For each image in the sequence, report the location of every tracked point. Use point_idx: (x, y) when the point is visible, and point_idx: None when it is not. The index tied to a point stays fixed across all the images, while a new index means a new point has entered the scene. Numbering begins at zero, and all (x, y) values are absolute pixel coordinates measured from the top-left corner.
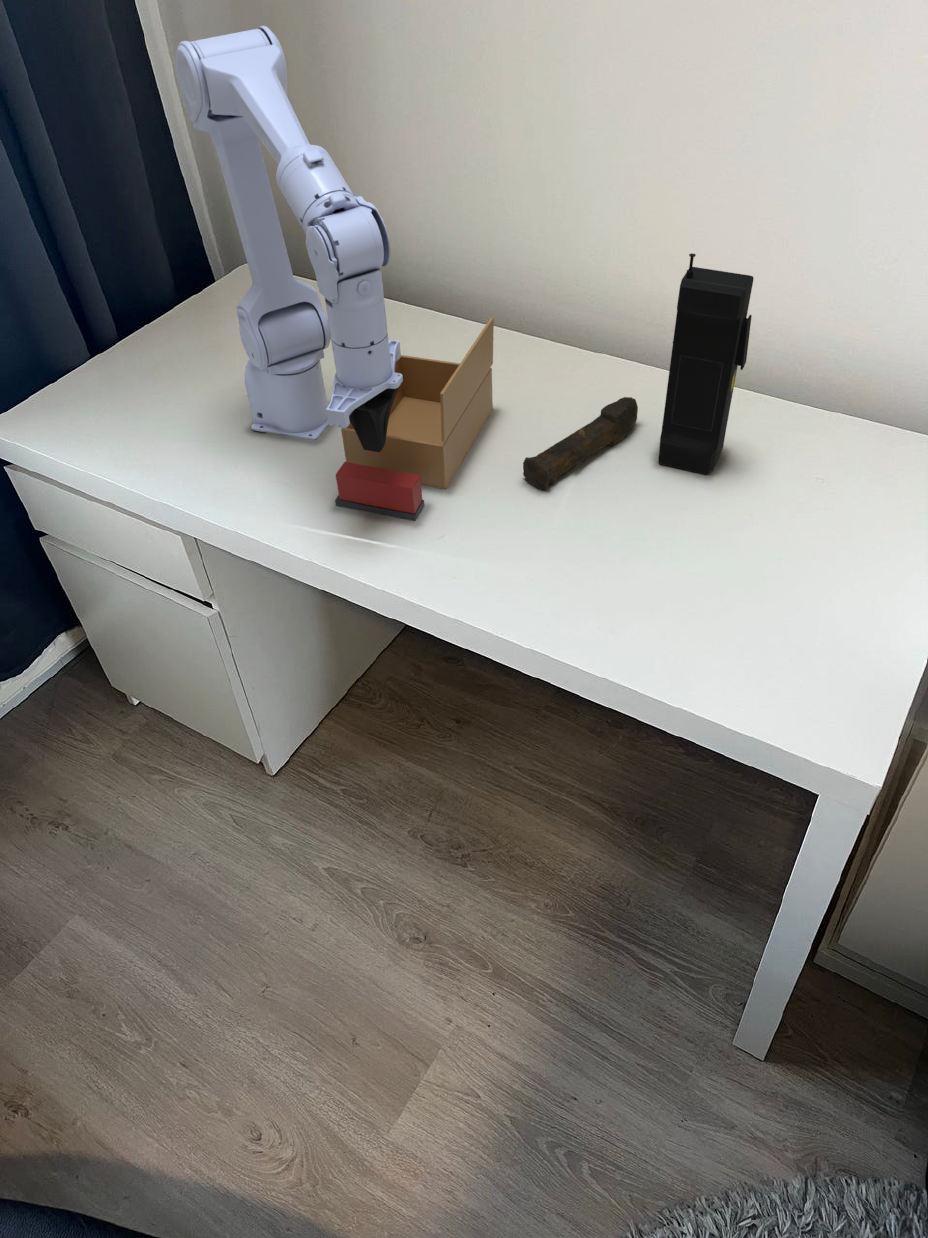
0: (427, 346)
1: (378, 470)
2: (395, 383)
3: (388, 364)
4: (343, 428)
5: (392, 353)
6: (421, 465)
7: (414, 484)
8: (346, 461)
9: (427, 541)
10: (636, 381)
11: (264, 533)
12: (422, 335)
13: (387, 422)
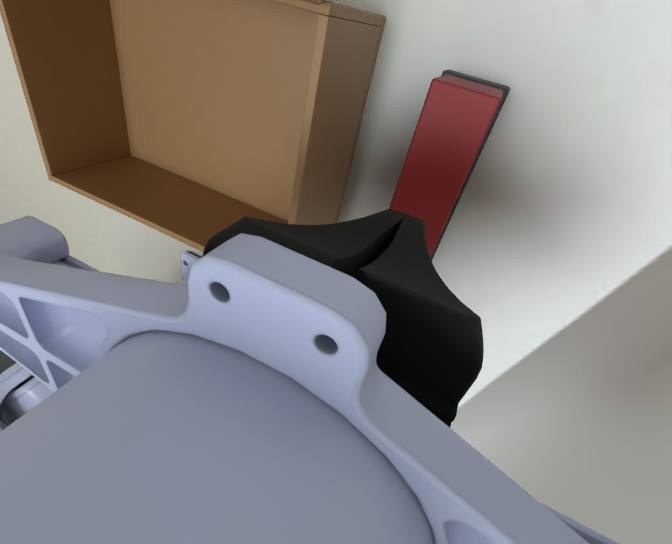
0: (17, 124)
1: (402, 202)
2: (361, 335)
3: (158, 490)
4: None
5: (18, 299)
6: (347, 88)
7: (478, 93)
8: None
9: (602, 39)
10: None
11: (489, 367)
12: (3, 135)
13: (359, 223)
